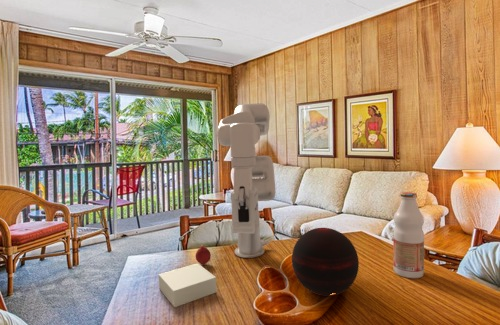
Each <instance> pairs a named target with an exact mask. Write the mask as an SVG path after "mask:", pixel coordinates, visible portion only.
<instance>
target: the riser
mask: <svg viewBox="0 0 500 325" xmlns="http://www.w3.org/2000/svg"><path fill="white" fill-rule="evenodd" d="M158 286H159V290H160V292H161V293H162V294H163V295H164V296H165V297H166V299H167V301H168V302H170V304H171V305H172V306H173V307H174V308H177V307H180V306H182V305H184V304H188V303H191V302H193V301H196V300H199V299H202V298H205V297H208V296H211V295H213V294H216V293H217V291H218V289H217V277H216V276H215V275H214V274H212V273H211V272H210V271H209V270H207V269H206V268H204V267H203V265H202V264H200V263H199V262H197V263H194V264H190V265H186V266H182V267H178V268H175V269H173V270H170V271H166V272H162V273H158Z"/></svg>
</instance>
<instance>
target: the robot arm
mask: <svg viewBox="0 0 500 325" xmlns="http://www.w3.org/2000/svg"><path fill="white" fill-rule="evenodd" d="M269 110H270V109H269V108H268V106H267V105H266V104H265V103H243V104H239V105H238V106H236V107H235V109H234V112H233V114H230V115H228V116H226V117H224V118H222V119H221V120H220V121H219V124H218V127H217V131H216V133H217V134H216V135H217V136H216V137H217V142H218V144H220V145H221V146H223V147H230V157H231V158H230V161H231V167H230V168H231V169H234V170H233V171H234V172H233V187H232V188H233V192H234V200H235V201H236V199H238V196H239V201H238V221H239V222H249V209H248V200H249V199H250V193H251V191H252V189H258V202H269V201H273V200H274V199H275V197H276V191H277V190H276V179H275V169H274V167H275V166H274V161H273V159H272V158H271V157H270V155H256V153H257V152H256V145H257V143H258V142H259V141H260V139H261V137H263V136H266V135H267V134H268V132H269V130H270V115H271V114H270V111H269ZM244 191H245V192H244ZM244 193H245V194H246V199H244ZM244 201H246V204H245V202H244ZM258 218H259V219H260V210H259V209H258ZM260 222H261V221H260V220H259V227H258V228H257V230H256V232H255V234H249V233H237V246H238V247H236V248H235V249H234V254H235V255H236V256H237V257H239V258H245V259H250V258H258V257H260V256H262V255H263V254H264V253H265V248H264V246H267V245H269V244H270V240H269V239H265V240H264V239H261V226H260V225H261V223H260Z"/></svg>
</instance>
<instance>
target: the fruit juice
mask: <svg viewBox="0 0 500 325" xmlns="http://www.w3.org/2000/svg"><path fill="white" fill-rule="evenodd" d="M400 198H401V200H400V203H399V206H398V208H397V210H396V211H395V212H394V215H393V222H394V226H395V227H394V229H393V235H392V236H393V237H392V238H393V240H392V241H393V242H392V246H393V247H392V250H393V251H392V252H393V254H392V255H393V256H392V258H393V264H392V265H393V267H392V268H393V272H394V273H395V274H396V275H398V276H400V277H404V278H407V279H419V278H422V277H423V276H424V274H425V232H424V230H423V227H424V226H423V225H424V222H425V219H424V215H423V213H422V212H421V210H420V208H419V206H418V203H417V198H418V194H417V193H416V192H413V191H412V192H411V191H402V192H400Z"/></svg>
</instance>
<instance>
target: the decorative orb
mask: <svg viewBox="0 0 500 325" xmlns="http://www.w3.org/2000/svg"><path fill="white" fill-rule="evenodd" d="M294 244H295V245H294V246H293V250H292V254H291V265H292V270H293V272H294V275H295V277H296V279H297V280H298V281H299V283H300V284H301V285H302V286H303V287H304V288H305V289H307V290H308V291H309V292H311V293H314V294H316V295H319V296H325V297H329V295H330V294H332V293H336V294H337V295H339V294H342V293H344V292H345V291H347V290H348V289H349V288H350V287H351V286H352V285H353V283H354V282H355V280H356V278H357V277H358V274H359V265H360V263H359V256H358V252H357V250H356V248H355V246H354V244H353V243H352V241H350V239H349V238H348V237H347V236H346V235H345V234H343V233H342V232H341V231H338V230H336V229H334V228H330V227H317V228H313V229H310V230H308V231H306V232H305V233H303V234H302V235H301V236H300V237H299V239H297V240H296V242H295V243H294Z"/></svg>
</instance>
